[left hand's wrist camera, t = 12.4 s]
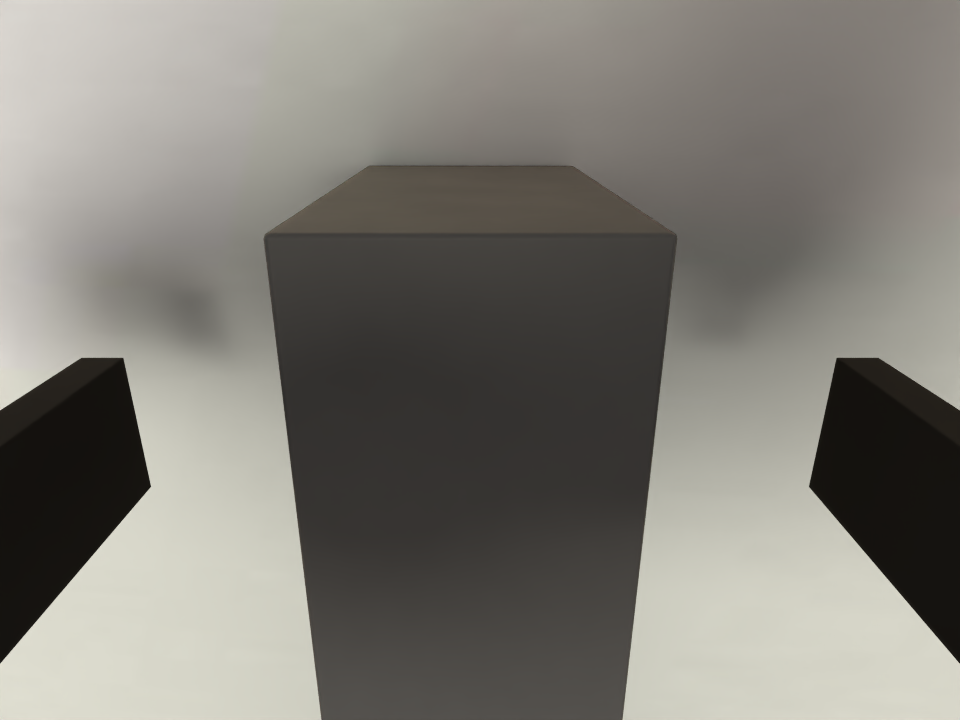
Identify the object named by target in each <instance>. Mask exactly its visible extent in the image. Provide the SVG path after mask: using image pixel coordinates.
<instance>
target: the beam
mask: <svg viewBox="0 0 960 720" xmlns="http://www.w3.org/2000/svg"><path fill="white" fill-rule="evenodd" d="M676 244H677V237H676V234H675V233H673V232H672V231H670V230H668V229H667V228H665V227H664V226H662V225H661V224H659V223H658V222H656V221H655V220H653V219H652V218H650V217H649V216H647V215H646V214H644V213H643V212H641V211H640V210H638V209H637V208H635V207H634V206H632V205H631V204H629V203H628V202H626V201H625V200H623V199H622V198H620V197H619V196H617V195H616V194H614V193H613V192H611V191H610V190H608V189H607V188H605V187H604V186H602V185H601V184H599V183H598V182H596V181H595V180H593V179H591V178H590V177H588V176H587V175H585V174H584V173H582V172H581V171H579V170H578V169H576V168H575V167H573V166H369V167H367V168H365V169H364V170H362V171H361V172H359V173H358V174H356V175H354V176H353V177H351V178H350V179H348V180H347V181H345V182H344V183H342V184H341V185H339V186H338V187H336V188H335V189H333V190H332V191H330V192H329V193H327V194H326V195H324V196H323V197H321V198H320V199H318V200H317V201H315V202H314V203H312V204H310V205H309V206H307V207H306V208H304V209H303V210H301V211H300V212H298V213H297V214H295V215H294V216H292V217H291V218H289V219H288V220H286V221H285V222H283V223H282V224H280V225H279V226H277V227H276V228H274V229H273V230H271V231H270V232H268V233H266V234H265V236H264V245H265V253H266V262H267V270H268V278H269V287H270V295H271V303H272V312H273V320H274V328H275V337H276V345H277V353H278V361H279V370H280V378H281V386H282V395H283V403H284V411H285V420H286V428H287V436H288V445H289V453H290V461H291V470H292V478H293V486H294V495H295V503H296V511H297V519H298V528H299V536H300V544H301V553H302V561H303V569H304V578H305V586H306V594H307V603H308V611H309V619H310V628H311V636H312V644H313V653H314V661H315V669H316V677H317V686H318V694H319V702H320V711H321V719H322V720H622V719H623V710H624V701H625V692H626V683H627V675H628V666H629V657H630V648H631V639H632V631H633V622H634V613H635V604H636V595H637V587H638V578H639V569H640V560H641V551H642V543H643V534H644V525H645V516H646V507H647V499H648V490H649V481H650V472H651V463H652V455H653V446H654V437H655V428H656V419H657V411H658V402H659V393H660V384H661V376H662V367H663V358H664V349H665V340H666V332H667V323H668V314H669V305H670V296H671V288H672V279H673V270H674V261H675V252H676Z"/></svg>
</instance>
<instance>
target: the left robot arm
mask: <svg viewBox="0 0 960 720" xmlns="http://www.w3.org/2000/svg"><path fill="white" fill-rule="evenodd" d="M150 487H151V485H150V480H149V475H148V471H147V466H146V461H145V457H144V452H143V447H142V443H141V438H140V434H139V429H138V424H137V420H136V415H135V410H134V406H133V401H132V396H131V392H130V387H129V382H128V378H127V373H126V368H125V364H124V359H123V358H81V359H79V360H78V361H76V362H75V363H73V364H71V365H70V366H68V367H67V368H65V369H64V370H62V371H61V372H59V373H58V374H56V375H54V376H53V377H51V378H50V379H48V380H47V381H45V382H44V383H42V384H41V385H39V386H37V387H36V388H34V389H33V390H31V391H30V392H28V393H27V394H25V395H23V396H22V397H20V398H19V399H17V400H16V401H14V402H13V403H11V404H10V405H8V406H6V407H5V408H3V409H2V410H0V663H1V662H2V661H3V660H4V658H5V657H6V656H7V655H8V654H9V653H10V651H11V650H12V649H13V648H14V647H15V646H16V644H17V643H18V642H19V641H20V640H21V639H22V637H23V636H24V635H25V634H26V633H27V631H28V630H29V629H30V628H31V627H32V626H33V624H34V623H35V622H36V621H37V620H38V619H39V617H40V616H41V615H42V614H43V613H44V612H45V610H46V609H47V608H48V607H49V606H50V604H51V603H52V602H53V601H54V600H55V599H56V597H57V596H58V595H59V594H60V593H61V592H62V590H63V589H64V588H65V587H66V586H67V585H68V583H69V582H70V581H71V580H72V579H73V578H74V576H75V575H76V574H77V573H78V572H79V570H80V569H81V568H82V567H83V566H84V565H85V563H86V562H87V561H88V560H89V559H90V558H91V556H92V555H93V554H94V553H95V552H96V551H97V549H98V548H99V547H100V546H101V545H102V543H103V542H104V541H105V540H106V539H107V538H108V536H109V535H110V534H111V533H112V532H113V531H114V529H115V528H116V527H117V526H118V525H119V524H120V522H121V521H122V520H123V519H124V518H125V517H126V515H127V514H128V513H129V512H130V511H131V509H132V508H133V507H134V506H135V505H136V504H137V502H138V501H139V500H140V499H141V498H142V497H143V495H144V494H145V493H146V492H147V491H148V490H149V488H150ZM809 487H810V488H811V490H812V491H813V492H814V493H815V494H816V495H817V497H818V498H819V499H820V500H821V501H822V502H823V504H824V505H825V506H826V507H827V508H828V509H829V511H830V512H831V513H832V514H833V515H834V517H835V518H836V519H837V520H838V521H839V522H840V524H841V525H842V526H843V527H844V528H845V529H846V531H847V532H848V533H849V534H850V535H851V536H852V538H853V539H854V540H855V541H856V542H857V543H858V545H859V546H860V547H861V548H862V549H863V551H864V552H865V553H866V554H867V555H868V556H869V558H870V559H871V560H872V561H873V562H874V563H875V565H876V566H877V567H878V568H879V569H880V570H881V572H882V573H883V574H884V575H885V576H886V578H887V579H888V580H889V581H890V582H891V583H892V585H893V586H894V587H895V588H896V589H897V590H898V592H899V593H900V594H901V595H902V596H903V597H904V599H905V600H906V601H907V602H908V603H909V604H910V606H911V607H912V608H913V609H914V610H915V612H916V613H917V614H918V615H919V616H920V617H921V619H922V620H923V621H924V622H925V623H926V624H927V626H928V627H929V628H930V629H931V630H932V631H933V633H934V634H935V635H936V636H937V637H938V639H939V640H940V641H941V642H942V643H943V644H944V646H945V647H946V648H947V649H948V650H949V651H950V653H951V654H952V655H953V656H954V657H955V658H956V660H957V661H958V662H959V663H960V410H958V409H957V408H955V407H954V406H952V405H950V404H949V403H947V402H946V401H944V400H943V399H941V398H940V397H938V396H937V395H935V394H933V393H932V392H930V391H929V390H927V389H926V388H924V387H923V386H921V385H919V384H918V383H916V382H915V381H913V380H912V379H910V378H909V377H907V376H906V375H904V374H902V373H901V372H899V371H898V370H896V369H895V368H893V367H892V366H890V365H889V364H887V363H885V362H884V361H882V360H881V359H879V358H837V359H836V364H835V368H834V373H833V378H832V382H831V387H830V392H829V396H828V401H827V406H826V410H825V415H824V420H823V424H822V429H821V434H820V438H819V443H818V447H817V452H816V457H815V461H814V466H813V471H812V475H811V480H810V485H809Z"/></svg>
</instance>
